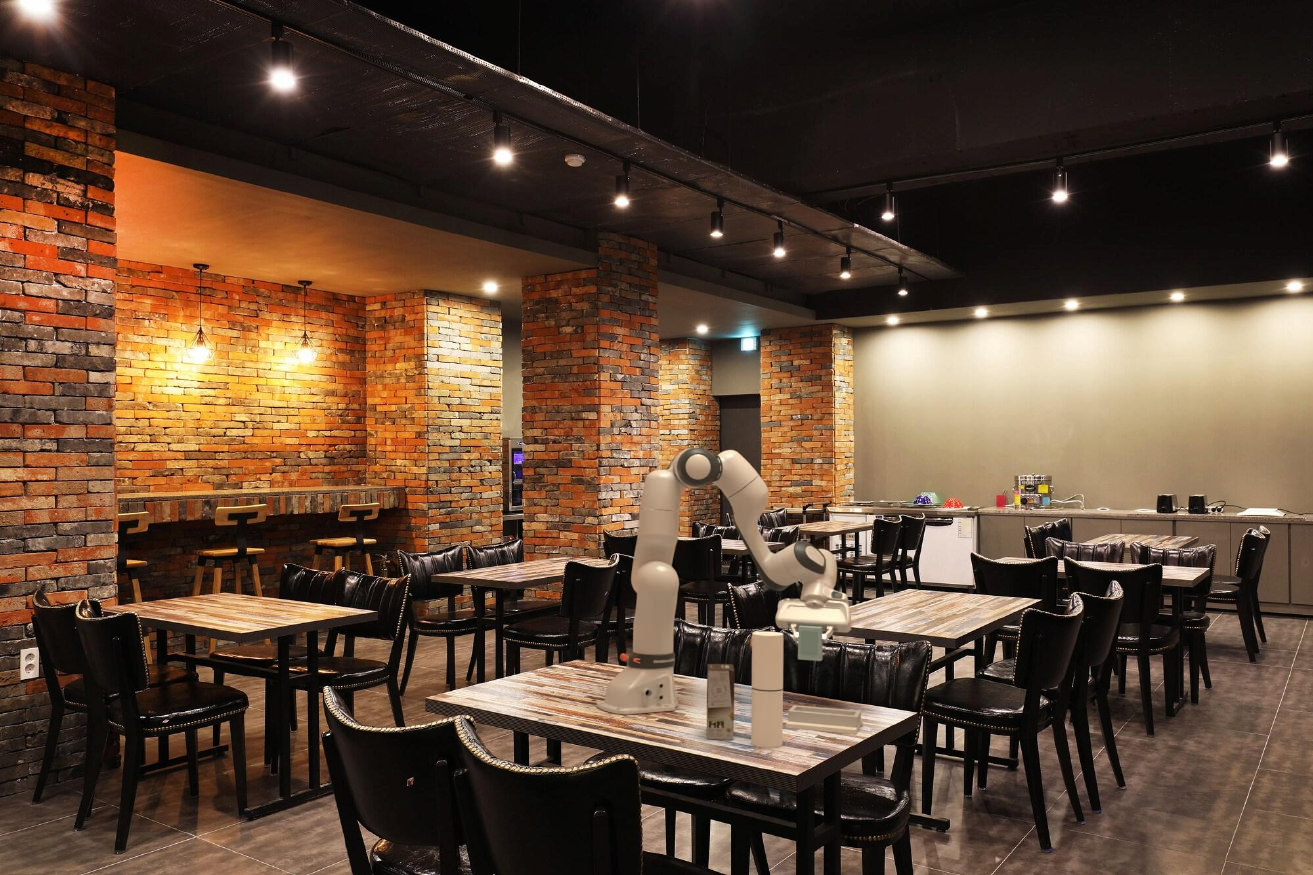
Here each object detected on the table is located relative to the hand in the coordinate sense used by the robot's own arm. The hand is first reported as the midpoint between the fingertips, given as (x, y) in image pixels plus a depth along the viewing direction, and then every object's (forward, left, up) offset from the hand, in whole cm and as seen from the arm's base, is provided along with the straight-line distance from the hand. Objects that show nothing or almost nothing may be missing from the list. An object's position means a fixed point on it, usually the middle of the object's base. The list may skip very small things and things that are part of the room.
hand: (810, 640), depth 251 cm
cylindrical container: (-31, -18, -19) cm, 41 cm away
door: (+1, 0, -5) cm, 5 cm away
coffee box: (-35, -6, -19) cm, 41 cm away
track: (-6, -12, -19) cm, 23 cm away
